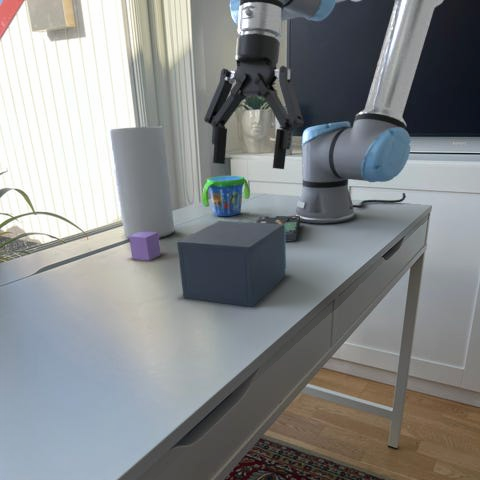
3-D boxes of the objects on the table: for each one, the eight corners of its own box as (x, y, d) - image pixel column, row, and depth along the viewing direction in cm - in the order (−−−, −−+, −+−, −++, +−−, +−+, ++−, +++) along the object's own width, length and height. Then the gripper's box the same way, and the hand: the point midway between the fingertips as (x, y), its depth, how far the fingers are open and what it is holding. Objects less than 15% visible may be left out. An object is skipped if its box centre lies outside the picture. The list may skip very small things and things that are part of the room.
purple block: (144, 253, 105) (141, 231, 103) (161, 254, 103) (158, 232, 101) (132, 259, 102) (128, 236, 100) (149, 260, 100) (146, 237, 98)
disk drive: (259, 227, 122) (251, 242, 109) (259, 216, 121) (250, 229, 108) (300, 226, 120) (296, 241, 107) (300, 215, 119) (296, 229, 106)
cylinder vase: (162, 225, 129) (149, 126, 119) (183, 233, 119) (171, 126, 109) (117, 234, 123) (100, 130, 113) (136, 243, 113) (119, 130, 103)
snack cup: (240, 207, 146) (238, 173, 141) (260, 212, 137) (259, 175, 133) (195, 216, 138) (191, 179, 134) (213, 221, 130) (210, 183, 126)
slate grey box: (223, 270, 91) (219, 220, 87) (285, 276, 86) (284, 224, 82) (183, 298, 79) (176, 241, 75) (252, 307, 74) (249, 247, 70)
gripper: (190, 37, 87) (184, 160, 93) (312, 25, 73) (295, 170, 80) (215, 47, 92) (208, 162, 99) (333, 38, 79) (316, 172, 85)
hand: (247, 166), depth 89 cm, fingers open, 13 cm apart
